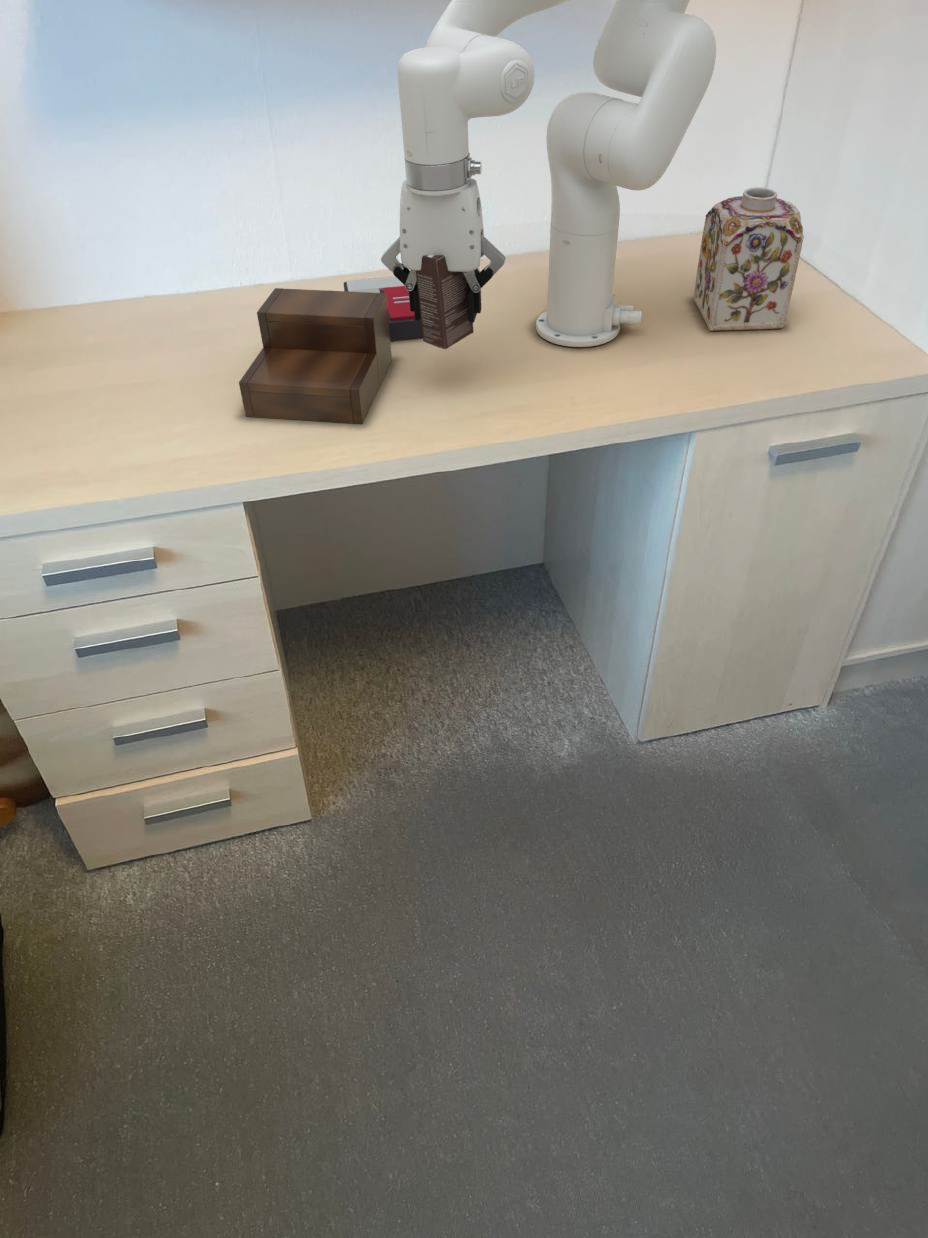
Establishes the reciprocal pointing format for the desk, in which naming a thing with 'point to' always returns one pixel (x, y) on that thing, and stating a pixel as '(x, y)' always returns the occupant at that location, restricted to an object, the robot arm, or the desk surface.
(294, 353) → the step shelf
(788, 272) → the decorative jar
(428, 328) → the box
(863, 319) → the desk surface
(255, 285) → the desk surface
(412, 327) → the calculator
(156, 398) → the desk surface
